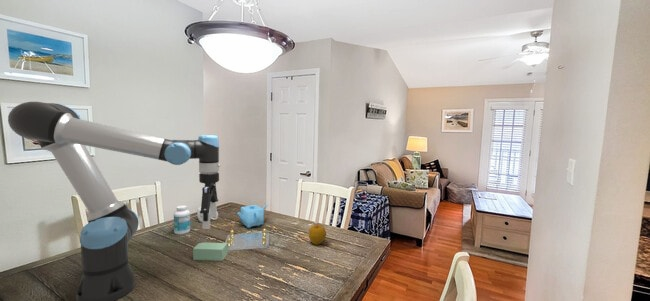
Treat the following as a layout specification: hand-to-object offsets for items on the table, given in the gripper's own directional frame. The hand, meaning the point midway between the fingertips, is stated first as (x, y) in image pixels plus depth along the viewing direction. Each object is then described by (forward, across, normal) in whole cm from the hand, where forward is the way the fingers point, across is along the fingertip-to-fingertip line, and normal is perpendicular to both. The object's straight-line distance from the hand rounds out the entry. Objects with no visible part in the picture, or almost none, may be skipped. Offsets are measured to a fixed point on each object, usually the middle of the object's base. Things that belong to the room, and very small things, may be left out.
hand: (210, 222), depth 112 cm
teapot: (+15, +34, -16) cm, 41 cm away
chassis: (+15, +11, -14) cm, 24 cm away
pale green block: (+15, 0, 0) cm, 15 cm away
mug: (+15, +45, +10) cm, 48 cm away
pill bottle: (+15, +29, +19) cm, 38 cm away
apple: (+15, +6, -47) cm, 50 cm away
